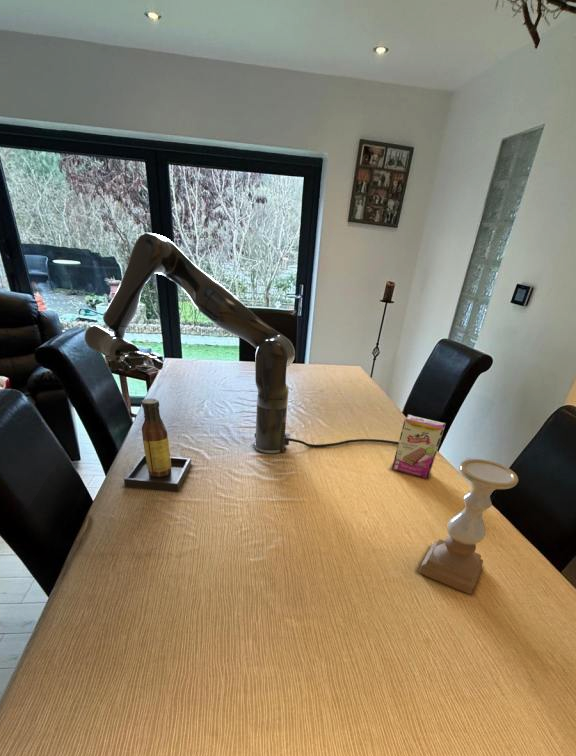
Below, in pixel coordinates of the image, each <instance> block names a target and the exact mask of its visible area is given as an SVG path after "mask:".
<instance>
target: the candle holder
mask: <svg viewBox="0 0 576 756" xmlns="http://www.w3.org/2000/svg"><path fill="white" fill-rule="evenodd" d="M458 470H459V472H460V474H461V475H462V476H463V477H464V478H465V479H466V480H468V481H470V483H471V489H470V491H468V492H467V493H465V494H464V495H463V497H462V499H463V501H464V508H463V509H462V510H461V511H460V512H458V513H456V514H455V515H453V517H452V516H451V518H450V519H449V520H448V522H447V525H446V532H447V534H448V535H446V537H445V538H444V540H443V539H438V540H437V541H434V542H433V543H432V544H431V546H430V548H429V549H428V551H427V553H426V554H425V557H424V558H423V561H422V563H421V565H420V566H419V567H420V568H419V570H418V571H419V572H418V573H419V574H420V575H424V576H426V577H428V578H430V579H433V580H435V581H436V582H440V583H442V584H444V585H446V586H449V587H452V588H454V589H456V590H459V591H461V592H464V593H466V594H468V595H469V594H470V595H471V594H472V593H473V591H474V589H475V586H476V585H477V581H478V578H479V575H480V573H481V570H482V567H483V564H484V560H483V559H482V555H481V554H480V553H478V552H476V551H477V546H476V545H477V544H479V543H481V542H482V541H483V540H484V539H485V538H486V534H487V532H486V531H487V530H486V525H485V522H484V519H483V513H484V512H485V511H487V510H488V509H490V508H491V507H492V505H493V502H492V500H491V495H492V493H493V492H494V491H497V490H509V489H512V488H514V487H516V486H517V485H518V483H519V476H518V475H517V473H516V472H514V471H513V470H512V469H511V468H509V467H507V466H505V465H503V464H501V463H498V462H495V461H491V460H488V459H481V458H480V459H479V458H470V459H465V460H464V461H463V460H462V462H461V463H460V464H459V469H458Z"/></svg>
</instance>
